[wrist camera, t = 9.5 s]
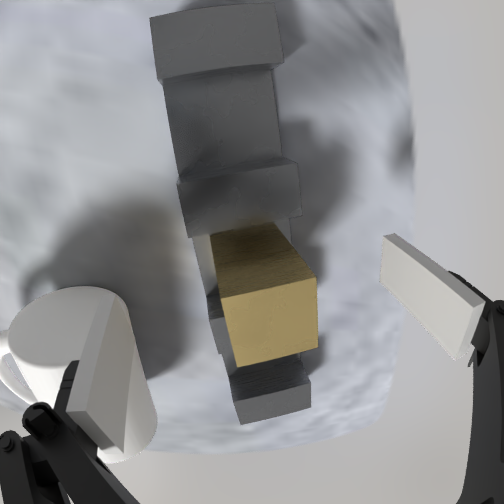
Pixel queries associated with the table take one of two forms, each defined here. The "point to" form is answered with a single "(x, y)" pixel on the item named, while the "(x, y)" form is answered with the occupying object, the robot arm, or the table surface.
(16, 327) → the mug
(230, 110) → the rail
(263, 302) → the block
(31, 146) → the table surface
